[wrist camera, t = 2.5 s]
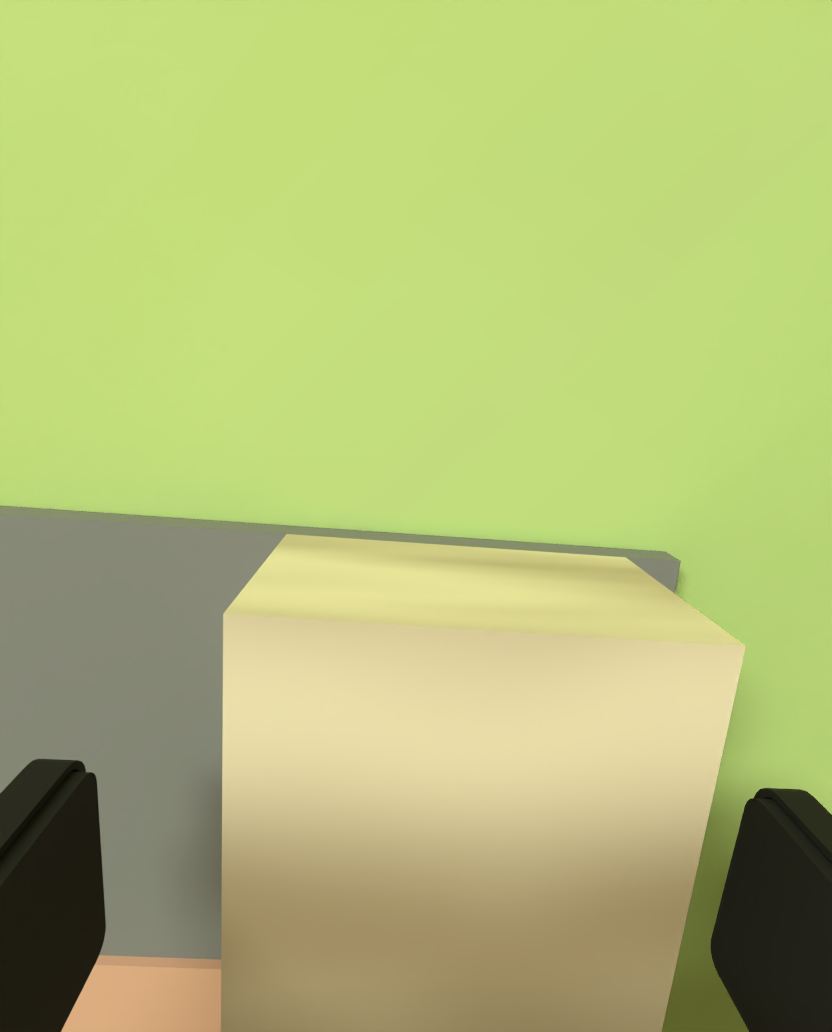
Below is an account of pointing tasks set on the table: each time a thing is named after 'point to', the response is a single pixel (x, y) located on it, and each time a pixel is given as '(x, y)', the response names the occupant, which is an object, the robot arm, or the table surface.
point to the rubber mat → (148, 724)
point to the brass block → (462, 788)
